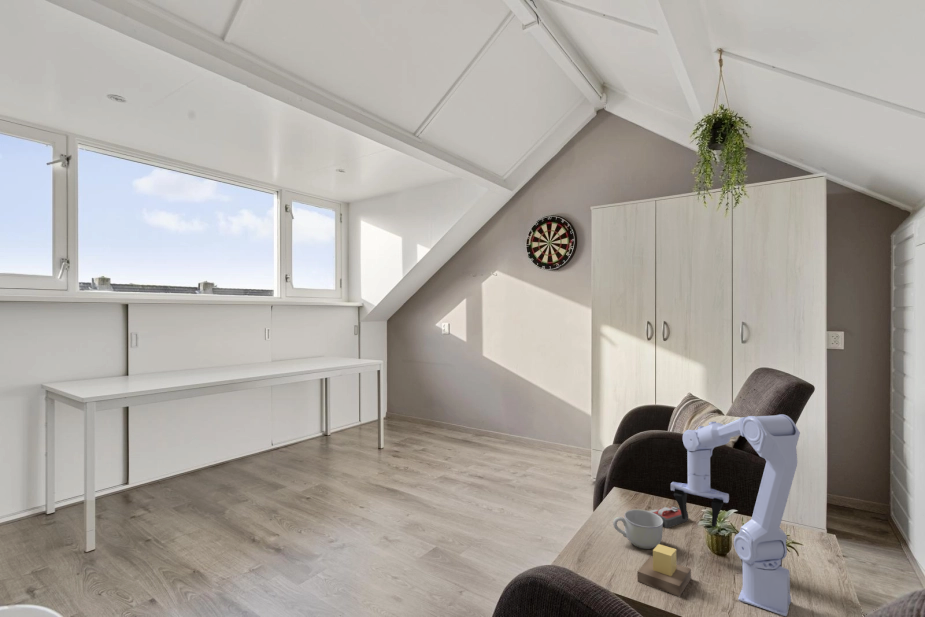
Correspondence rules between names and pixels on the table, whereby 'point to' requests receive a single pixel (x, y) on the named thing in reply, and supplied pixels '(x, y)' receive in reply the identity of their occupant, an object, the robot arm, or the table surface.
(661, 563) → the mustard block
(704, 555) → the table surface
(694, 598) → the table surface
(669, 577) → the walnut plinth
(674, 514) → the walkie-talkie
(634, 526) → the teacup
